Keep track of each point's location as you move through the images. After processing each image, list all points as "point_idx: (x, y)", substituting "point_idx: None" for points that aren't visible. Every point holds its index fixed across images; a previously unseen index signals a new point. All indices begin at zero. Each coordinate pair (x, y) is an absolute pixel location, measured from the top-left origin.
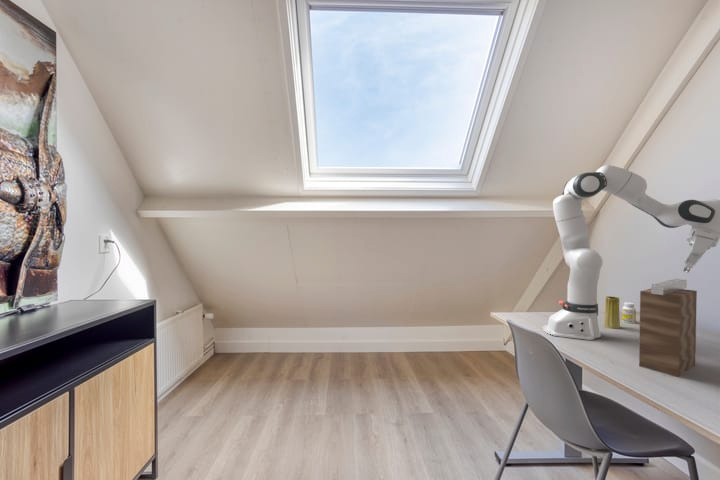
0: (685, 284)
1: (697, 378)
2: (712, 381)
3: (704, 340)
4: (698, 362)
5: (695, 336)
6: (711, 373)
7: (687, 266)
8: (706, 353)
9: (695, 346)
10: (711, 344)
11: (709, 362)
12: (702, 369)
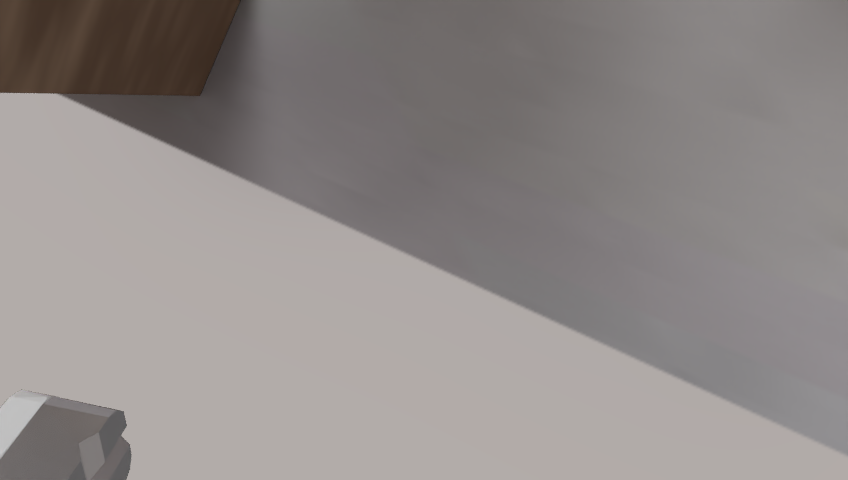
0: None
1: None
2: None
3: (744, 361)
4: (256, 130)
5: (72, 90)
6: (141, 126)
7: (54, 396)
8: (426, 233)
9: (123, 93)
10: (646, 354)
11: (279, 181)
12: (171, 109)
